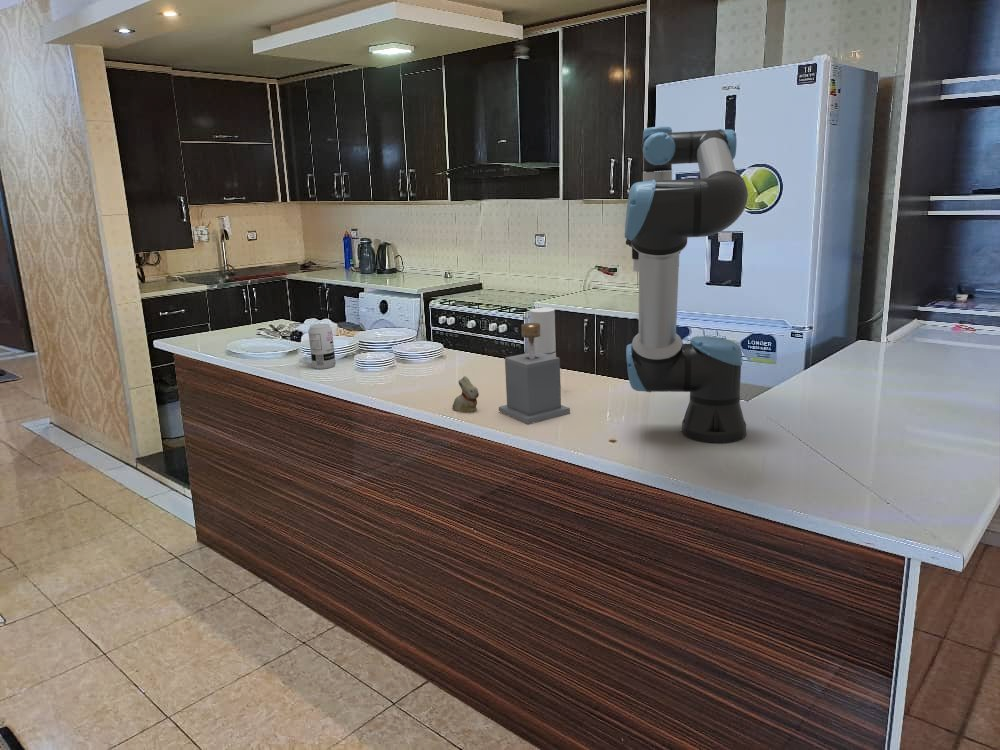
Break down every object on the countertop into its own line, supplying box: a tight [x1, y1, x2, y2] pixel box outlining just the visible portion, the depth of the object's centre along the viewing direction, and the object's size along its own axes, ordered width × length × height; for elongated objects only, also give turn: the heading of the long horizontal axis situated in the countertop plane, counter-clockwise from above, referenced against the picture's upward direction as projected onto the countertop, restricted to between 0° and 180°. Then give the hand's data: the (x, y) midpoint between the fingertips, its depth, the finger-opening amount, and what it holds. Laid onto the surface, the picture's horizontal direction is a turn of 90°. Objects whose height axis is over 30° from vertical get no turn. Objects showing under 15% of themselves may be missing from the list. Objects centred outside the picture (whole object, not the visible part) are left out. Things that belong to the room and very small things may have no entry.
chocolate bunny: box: [452, 375, 480, 413], centre depth 206 cm, size 6×8×10 cm
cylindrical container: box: [529, 307, 557, 357], centre depth 217 cm, size 7×7×25 cm
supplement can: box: [307, 323, 336, 370], centre depth 263 cm, size 8×8×15 cm
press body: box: [498, 351, 571, 425], centre depth 200 cm, size 14×14×16 cm
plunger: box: [521, 322, 541, 360], centre depth 198 cm, size 8×8×20 cm
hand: (656, 269), depth 200 cm, fingers open, 13 cm apart
